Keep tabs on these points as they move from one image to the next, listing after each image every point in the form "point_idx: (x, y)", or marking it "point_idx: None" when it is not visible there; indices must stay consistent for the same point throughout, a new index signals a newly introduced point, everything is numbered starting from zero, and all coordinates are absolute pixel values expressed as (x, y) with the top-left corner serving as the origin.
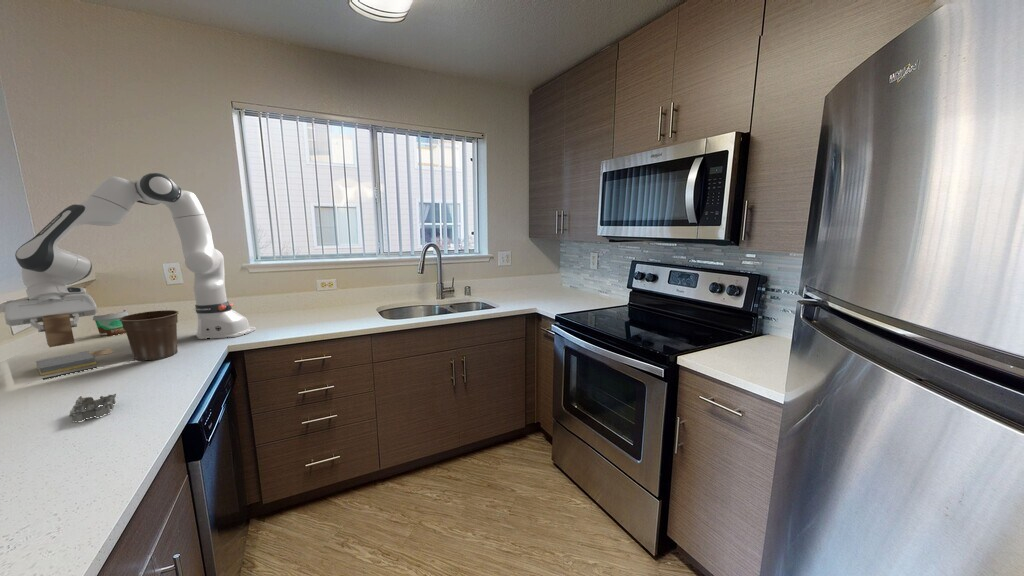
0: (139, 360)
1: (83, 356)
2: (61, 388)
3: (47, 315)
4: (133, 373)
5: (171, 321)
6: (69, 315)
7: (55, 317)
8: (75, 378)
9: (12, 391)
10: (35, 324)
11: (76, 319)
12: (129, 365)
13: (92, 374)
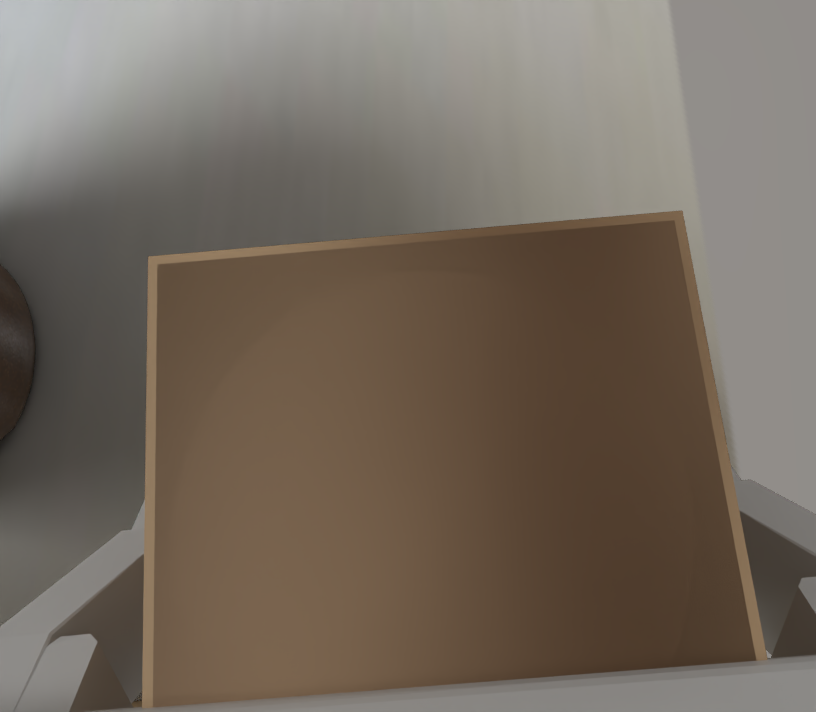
0: (21, 292)
1: None
2: (459, 31)
3: (624, 669)
4: (129, 15)
5: None
6: (162, 266)
7: (437, 241)
8: (392, 196)
9: (680, 201)
10: (782, 501)
11: (104, 547)
12: (100, 243)
13: (306, 207)
